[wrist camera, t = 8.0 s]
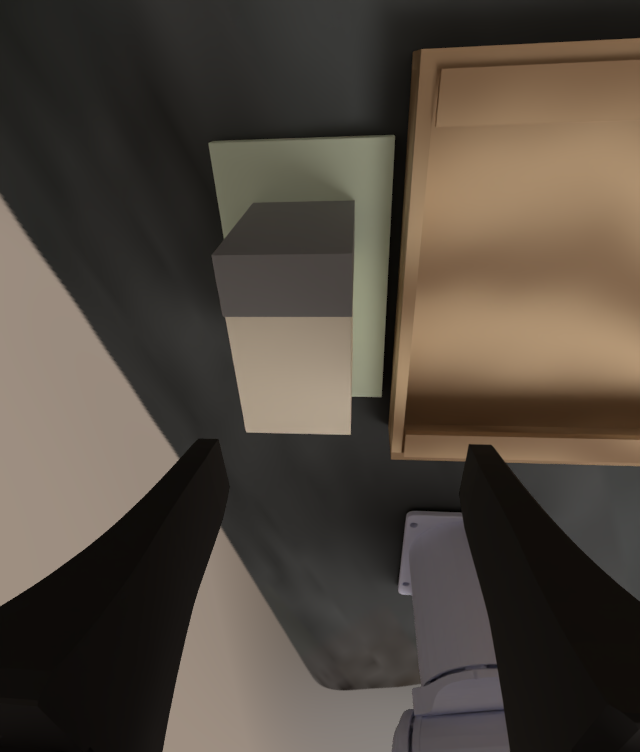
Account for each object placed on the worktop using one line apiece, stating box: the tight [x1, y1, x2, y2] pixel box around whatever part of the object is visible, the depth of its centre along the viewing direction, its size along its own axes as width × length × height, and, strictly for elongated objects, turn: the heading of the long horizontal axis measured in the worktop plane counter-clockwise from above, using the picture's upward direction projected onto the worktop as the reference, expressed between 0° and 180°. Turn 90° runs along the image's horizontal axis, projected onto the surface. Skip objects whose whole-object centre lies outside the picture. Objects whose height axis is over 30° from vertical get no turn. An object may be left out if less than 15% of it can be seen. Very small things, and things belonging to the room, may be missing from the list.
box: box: [211, 200, 355, 435], centre depth 17 cm, size 7×4×6 cm, turn 2°
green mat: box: [208, 135, 395, 397], centre depth 20 cm, size 12×7×1 cm, turn 2°
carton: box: [388, 38, 640, 466], centre depth 18 cm, size 17×18×3 cm
